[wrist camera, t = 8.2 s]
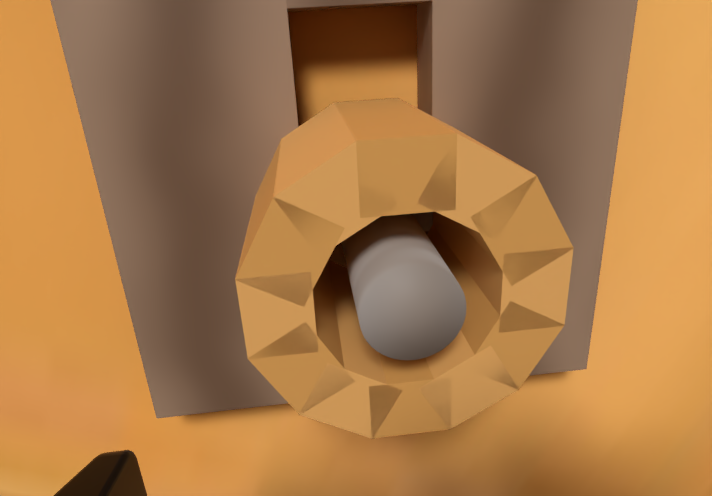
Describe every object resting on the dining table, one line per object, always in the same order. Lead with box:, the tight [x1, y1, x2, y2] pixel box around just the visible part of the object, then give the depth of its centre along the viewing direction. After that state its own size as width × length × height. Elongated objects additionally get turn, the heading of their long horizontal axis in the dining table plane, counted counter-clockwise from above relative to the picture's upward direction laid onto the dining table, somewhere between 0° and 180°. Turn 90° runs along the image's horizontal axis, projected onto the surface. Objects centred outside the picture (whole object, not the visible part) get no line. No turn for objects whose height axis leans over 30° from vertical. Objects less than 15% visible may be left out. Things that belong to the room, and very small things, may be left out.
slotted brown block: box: [51, 0, 638, 418], centre depth 14 cm, size 16×14×8 cm
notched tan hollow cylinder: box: [235, 98, 574, 439], centre depth 14 cm, size 7×7×6 cm
